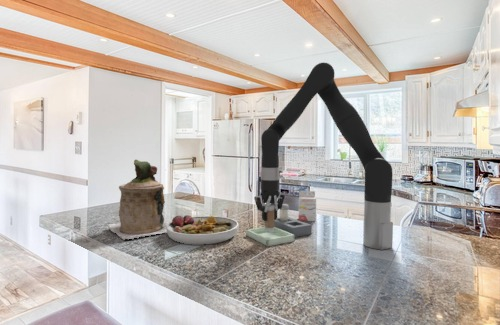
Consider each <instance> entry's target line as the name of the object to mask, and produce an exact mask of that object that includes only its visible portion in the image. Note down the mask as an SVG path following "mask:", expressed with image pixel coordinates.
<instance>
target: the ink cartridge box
mask: <svg viewBox="0 0 500 325" xmlns="http://www.w3.org/2000/svg"><path fill="white" fill-rule="evenodd" d="M298 193H299V194H298V196H299V197H298V220H299V221H302V222H317V197H315V196H316V191H314V190H313V191H311V190H300V191H299V192H298Z"/></svg>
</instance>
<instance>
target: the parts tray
mask: <svg viewBox="0 0 500 325" xmlns="http://www.w3.org/2000/svg"><path fill="white" fill-rule="evenodd" d="M245 235H246V237H249V239H252V240H255V241H256V242H258V243H260V244H262V245H264V246H265V247H266V248H268V247H271V246H277V245H282V244H287V243H291V242H295V238H296V237H295V235H294V234H291V233H289V232H286V231H284V230H281V229H279V228H276V227H274V232H273V233H267V232H265V226H261V227H255V228H249V229H246V234H245Z"/></svg>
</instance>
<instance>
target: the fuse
mask: <svg viewBox="0 0 500 325" xmlns="http://www.w3.org/2000/svg"><path fill="white" fill-rule="evenodd" d="M289 208H290V207H289V204H287V203H283V205H282V208H281V209H279V217H280V221H282V222H285V221H288V217H289V213H290V212H289Z"/></svg>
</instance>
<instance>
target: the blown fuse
mask: <svg viewBox="0 0 500 325" xmlns="http://www.w3.org/2000/svg"><path fill="white" fill-rule="evenodd" d="M274 211H275V205H273V204H271V203H270V204H269V207H268V209H267V221H264V227H265V232H267V233H273V232H274Z"/></svg>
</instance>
